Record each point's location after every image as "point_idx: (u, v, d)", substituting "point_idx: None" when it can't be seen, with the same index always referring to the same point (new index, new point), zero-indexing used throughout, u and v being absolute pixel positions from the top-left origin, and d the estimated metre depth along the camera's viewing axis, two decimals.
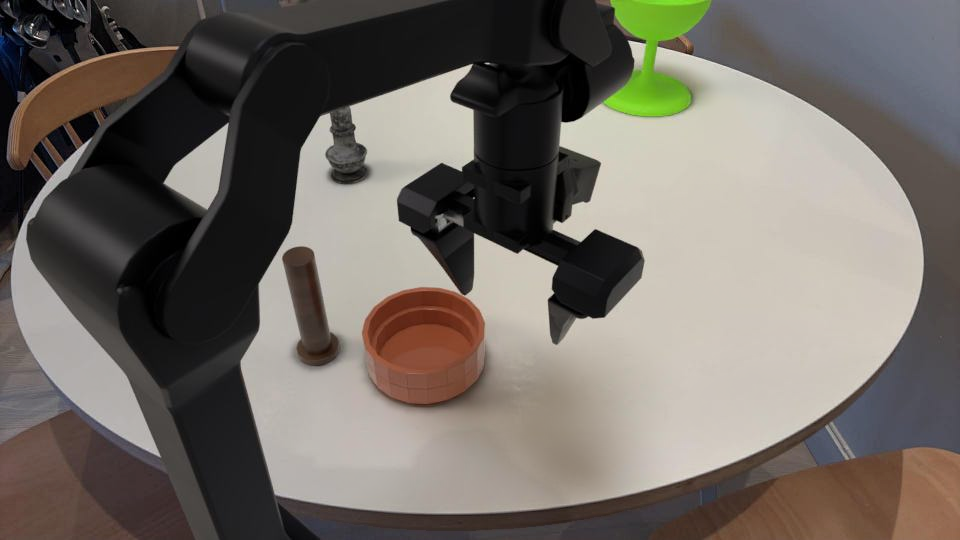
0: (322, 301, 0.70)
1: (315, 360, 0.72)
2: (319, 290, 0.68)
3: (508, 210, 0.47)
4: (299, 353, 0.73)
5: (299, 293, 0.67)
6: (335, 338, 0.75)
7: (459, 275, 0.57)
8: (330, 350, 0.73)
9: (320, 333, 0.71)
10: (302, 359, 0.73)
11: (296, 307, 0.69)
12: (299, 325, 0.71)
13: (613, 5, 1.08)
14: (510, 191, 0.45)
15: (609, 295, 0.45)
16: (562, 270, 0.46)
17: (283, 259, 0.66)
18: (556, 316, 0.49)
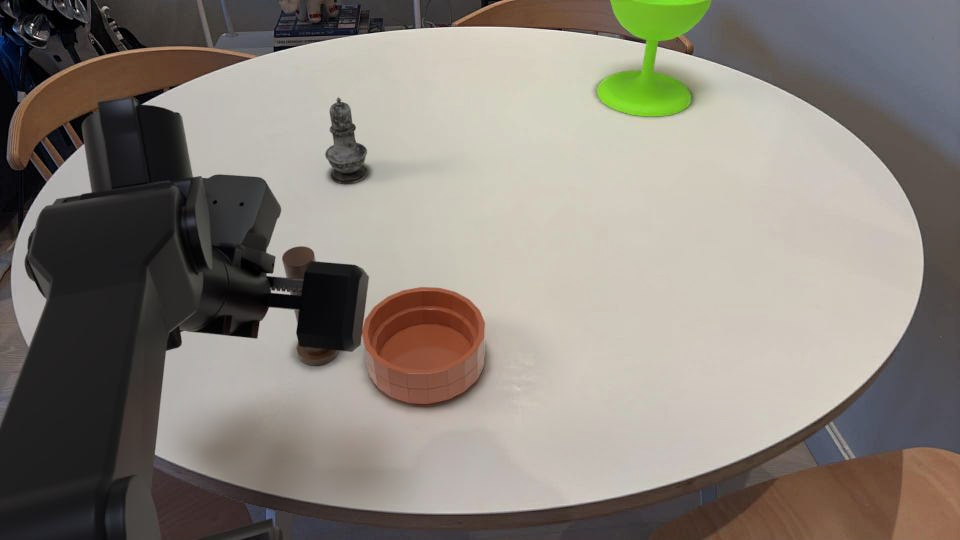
0: None
1: (315, 360, 0.72)
2: None
3: None
4: (299, 353, 0.73)
5: (299, 293, 0.67)
6: None
7: None
8: (330, 350, 0.73)
9: None
10: (302, 359, 0.73)
11: None
12: None
13: (613, 5, 1.08)
14: (213, 333, 0.45)
15: (353, 340, 0.49)
16: (303, 339, 0.49)
17: (283, 259, 0.66)
18: None
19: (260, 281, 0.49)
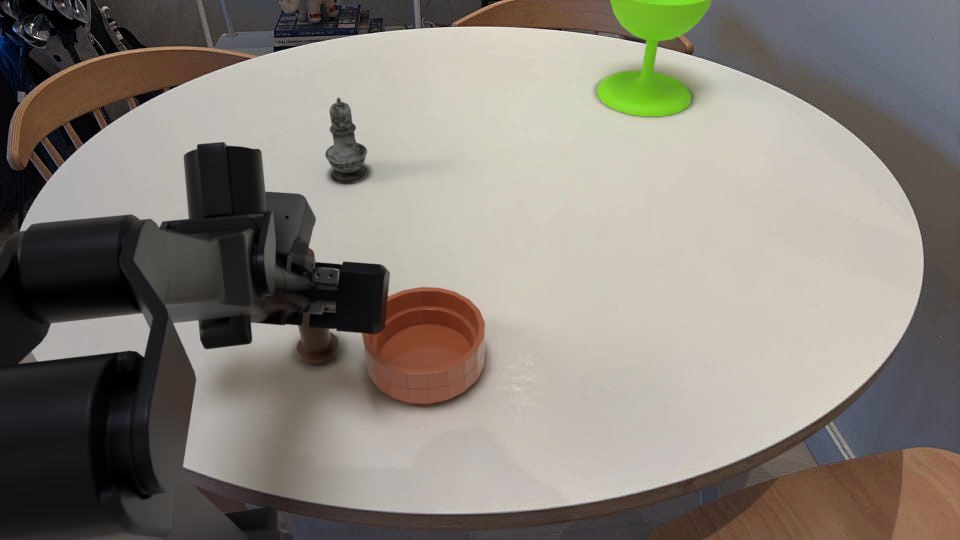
0: None
1: (315, 360, 0.72)
2: None
3: None
4: (299, 353, 0.73)
5: None
6: (335, 338, 0.75)
7: None
8: (330, 350, 0.73)
9: (320, 333, 0.71)
10: (302, 359, 0.73)
11: None
12: (299, 325, 0.71)
13: (613, 5, 1.08)
14: None
15: (380, 325, 0.61)
16: (340, 325, 0.61)
17: None
18: None
19: (304, 279, 0.60)
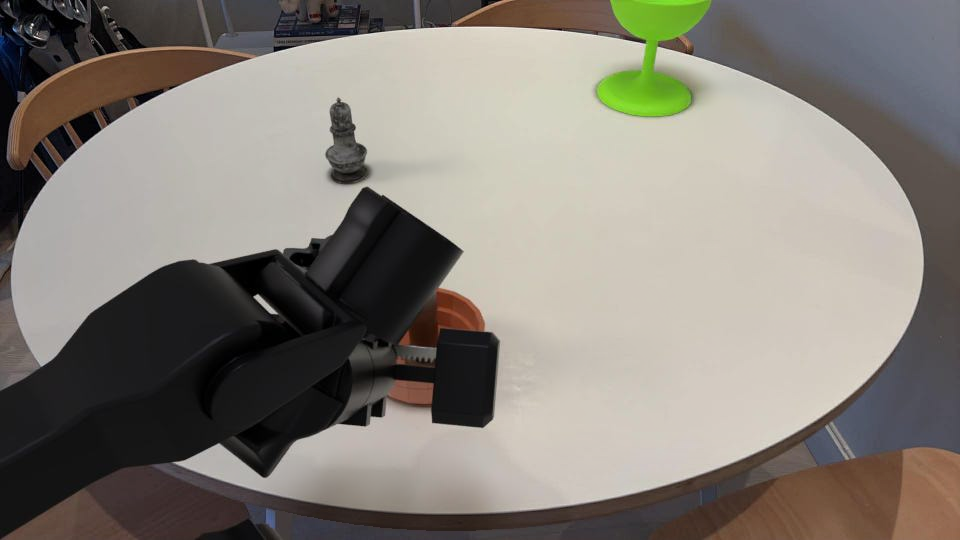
0: (436, 308, 0.68)
1: None
2: (435, 297, 0.67)
3: None
4: (407, 361, 0.71)
5: None
6: None
7: None
8: None
9: (432, 340, 0.69)
10: None
11: None
12: (411, 332, 0.69)
13: (613, 5, 1.08)
14: (354, 424, 0.40)
15: (492, 416, 0.45)
16: (438, 417, 0.45)
17: None
18: None
19: (389, 355, 0.44)
